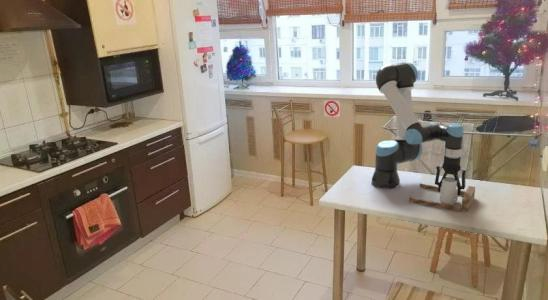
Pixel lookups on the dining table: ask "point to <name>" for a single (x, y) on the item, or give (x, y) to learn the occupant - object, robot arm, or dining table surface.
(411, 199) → the guide lane
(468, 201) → the end stop
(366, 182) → the dining table surface
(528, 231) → the dining table surface
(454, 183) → the mug
